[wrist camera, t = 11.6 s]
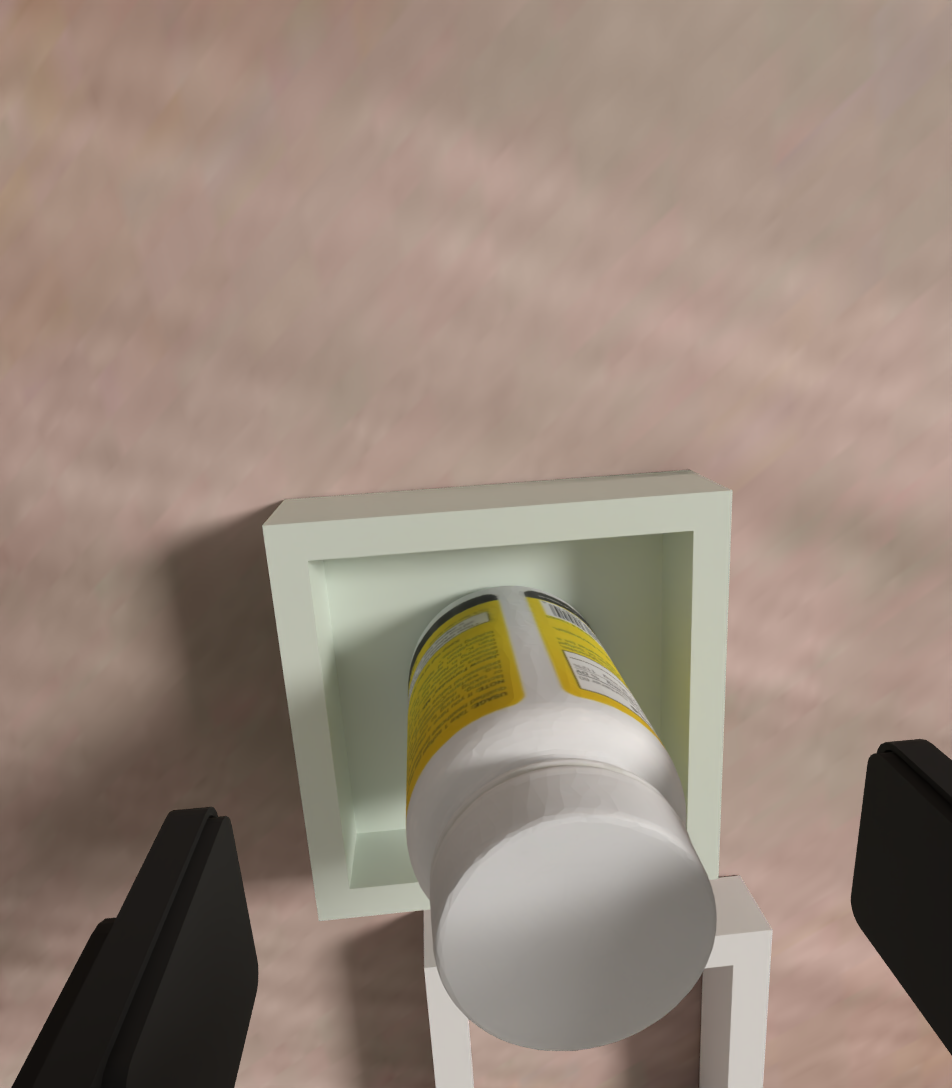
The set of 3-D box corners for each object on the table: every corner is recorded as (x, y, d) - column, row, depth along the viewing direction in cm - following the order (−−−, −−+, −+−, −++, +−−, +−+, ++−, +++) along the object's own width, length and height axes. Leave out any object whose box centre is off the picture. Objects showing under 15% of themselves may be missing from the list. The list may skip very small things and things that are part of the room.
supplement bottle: (409, 759, 18) (399, 1084, 10) (407, 581, 17) (396, 794, 9) (596, 755, 19) (727, 1066, 11) (608, 580, 18) (768, 785, 10)
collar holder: (423, 908, 20) (423, 968, 18) (739, 875, 21) (772, 929, 19) (446, 1147, 23) (449, 1221, 21) (729, 1112, 23) (756, 1182, 21)
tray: (284, 499, 17) (262, 525, 15) (689, 469, 18) (732, 490, 15) (331, 850, 20) (318, 921, 17) (682, 814, 20) (718, 878, 18)
